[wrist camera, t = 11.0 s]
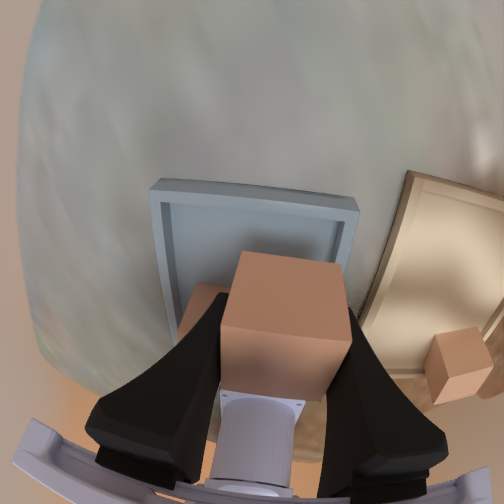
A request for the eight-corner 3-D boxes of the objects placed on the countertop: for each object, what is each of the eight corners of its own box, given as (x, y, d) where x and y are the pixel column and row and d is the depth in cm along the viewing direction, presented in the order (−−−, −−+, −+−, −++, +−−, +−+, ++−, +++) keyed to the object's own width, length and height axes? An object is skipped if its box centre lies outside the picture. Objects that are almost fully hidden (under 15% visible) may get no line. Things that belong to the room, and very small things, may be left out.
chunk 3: (462, 356, 19) (475, 394, 16) (423, 365, 20) (433, 405, 17) (477, 325, 17) (494, 365, 14) (434, 334, 18) (449, 377, 15)
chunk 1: (257, 334, 20) (249, 383, 17) (200, 326, 20) (185, 372, 17) (261, 292, 18) (253, 343, 14) (197, 283, 18) (176, 331, 15)
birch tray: (455, 367, 21) (457, 375, 20) (337, 366, 22) (337, 377, 21) (544, 212, 12) (552, 220, 11) (407, 170, 13) (414, 176, 12)
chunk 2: (340, 263, 12) (352, 341, 8) (319, 329, 14) (320, 401, 11) (242, 250, 12) (220, 325, 9) (237, 319, 14) (221, 389, 11)
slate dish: (312, 349, 21) (312, 367, 20) (179, 331, 22) (173, 347, 20) (354, 198, 14) (360, 212, 13) (160, 178, 15) (148, 189, 14)
